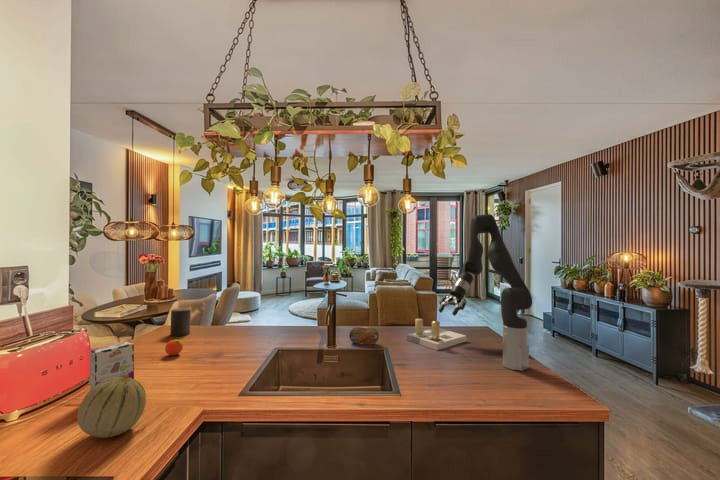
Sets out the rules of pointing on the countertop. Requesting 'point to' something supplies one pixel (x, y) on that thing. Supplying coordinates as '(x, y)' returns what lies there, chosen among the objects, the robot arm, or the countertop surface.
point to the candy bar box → (111, 362)
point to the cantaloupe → (112, 407)
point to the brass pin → (435, 331)
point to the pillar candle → (180, 321)
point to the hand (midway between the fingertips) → (446, 313)
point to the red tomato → (173, 347)
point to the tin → (364, 335)
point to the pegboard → (426, 337)
